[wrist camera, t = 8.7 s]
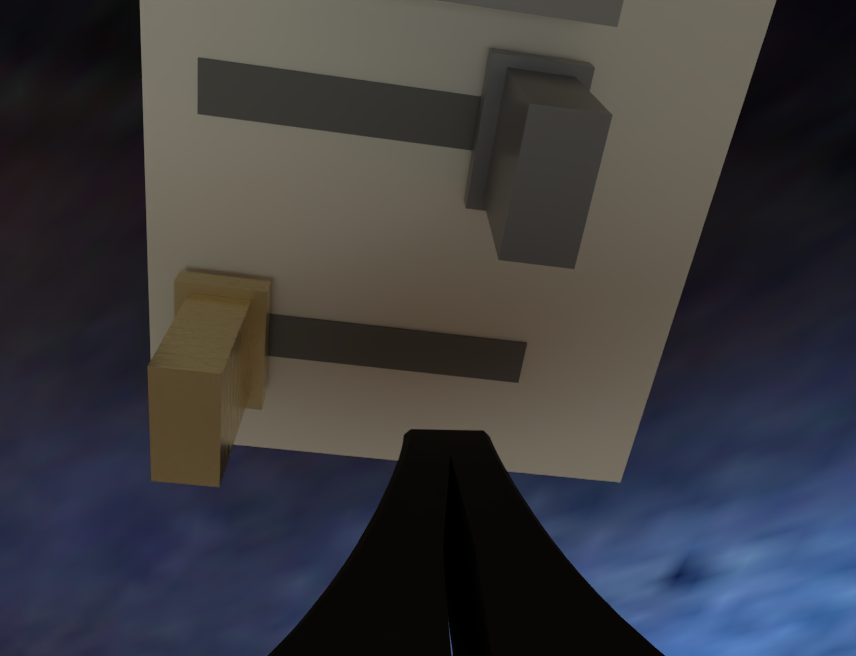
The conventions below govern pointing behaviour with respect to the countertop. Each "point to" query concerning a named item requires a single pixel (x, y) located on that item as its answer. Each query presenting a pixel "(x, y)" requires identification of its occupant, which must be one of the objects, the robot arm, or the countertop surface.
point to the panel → (434, 211)
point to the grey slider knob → (536, 155)
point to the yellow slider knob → (207, 375)
